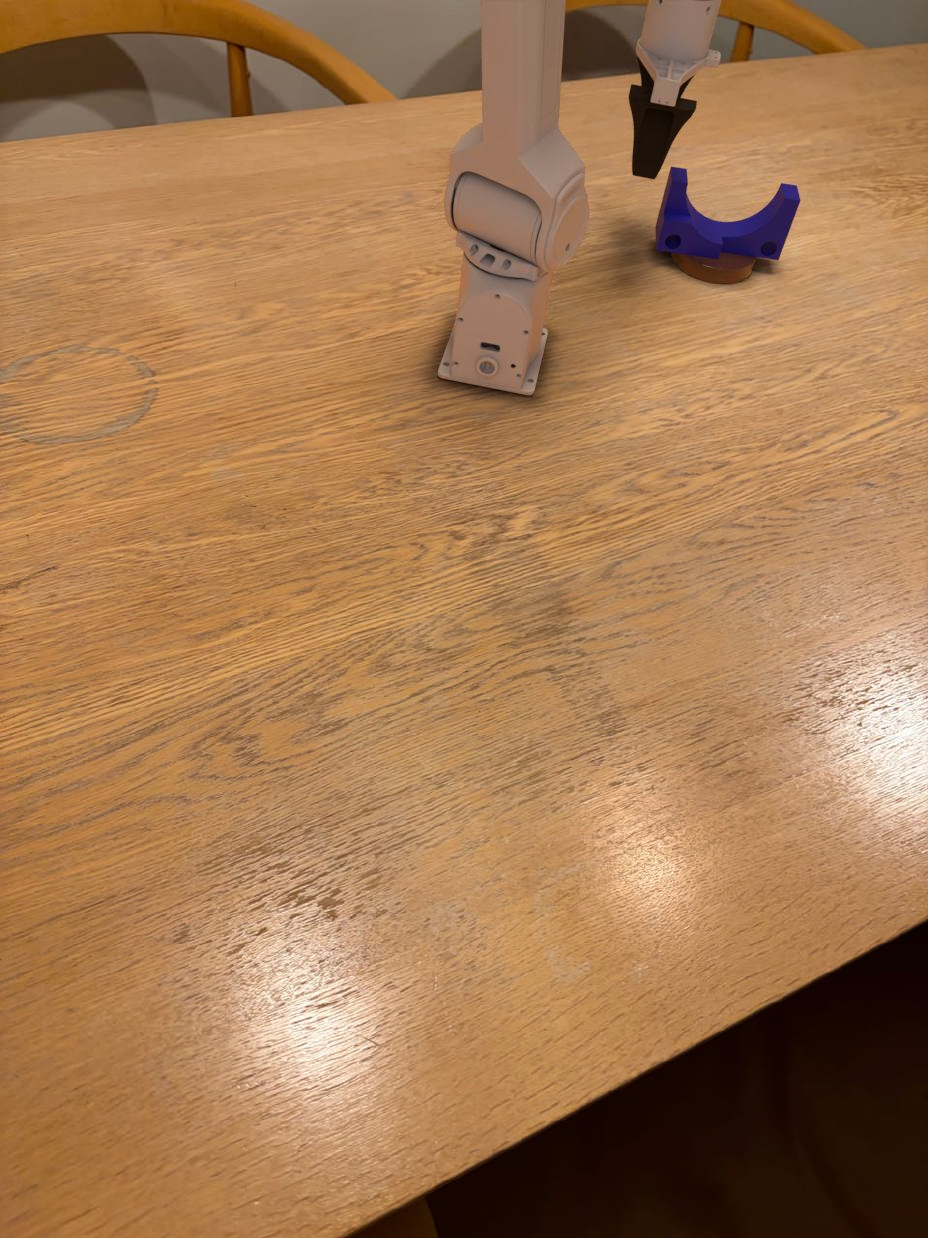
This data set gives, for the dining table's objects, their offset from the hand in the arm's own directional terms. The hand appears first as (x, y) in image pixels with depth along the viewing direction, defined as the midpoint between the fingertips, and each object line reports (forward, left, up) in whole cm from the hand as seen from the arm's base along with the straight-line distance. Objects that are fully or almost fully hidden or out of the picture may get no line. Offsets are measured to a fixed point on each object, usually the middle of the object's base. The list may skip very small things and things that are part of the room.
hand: (647, 157), depth 89 cm
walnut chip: (+2, -9, -9) cm, 13 cm away
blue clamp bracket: (+2, -9, -8) cm, 12 cm away
